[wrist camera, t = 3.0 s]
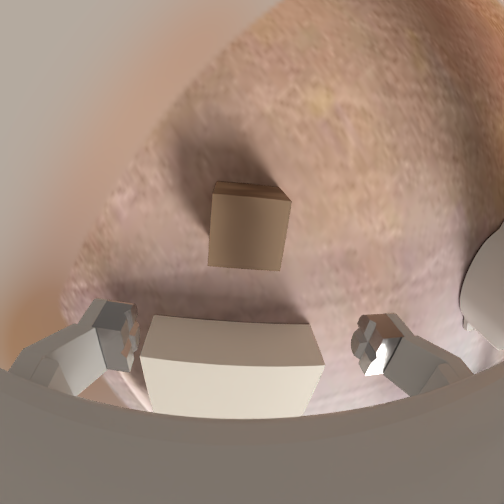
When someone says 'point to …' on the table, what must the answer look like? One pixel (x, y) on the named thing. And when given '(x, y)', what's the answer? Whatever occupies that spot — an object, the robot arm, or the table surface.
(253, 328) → the plate
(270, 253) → the walnut cube
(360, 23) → the table surface
